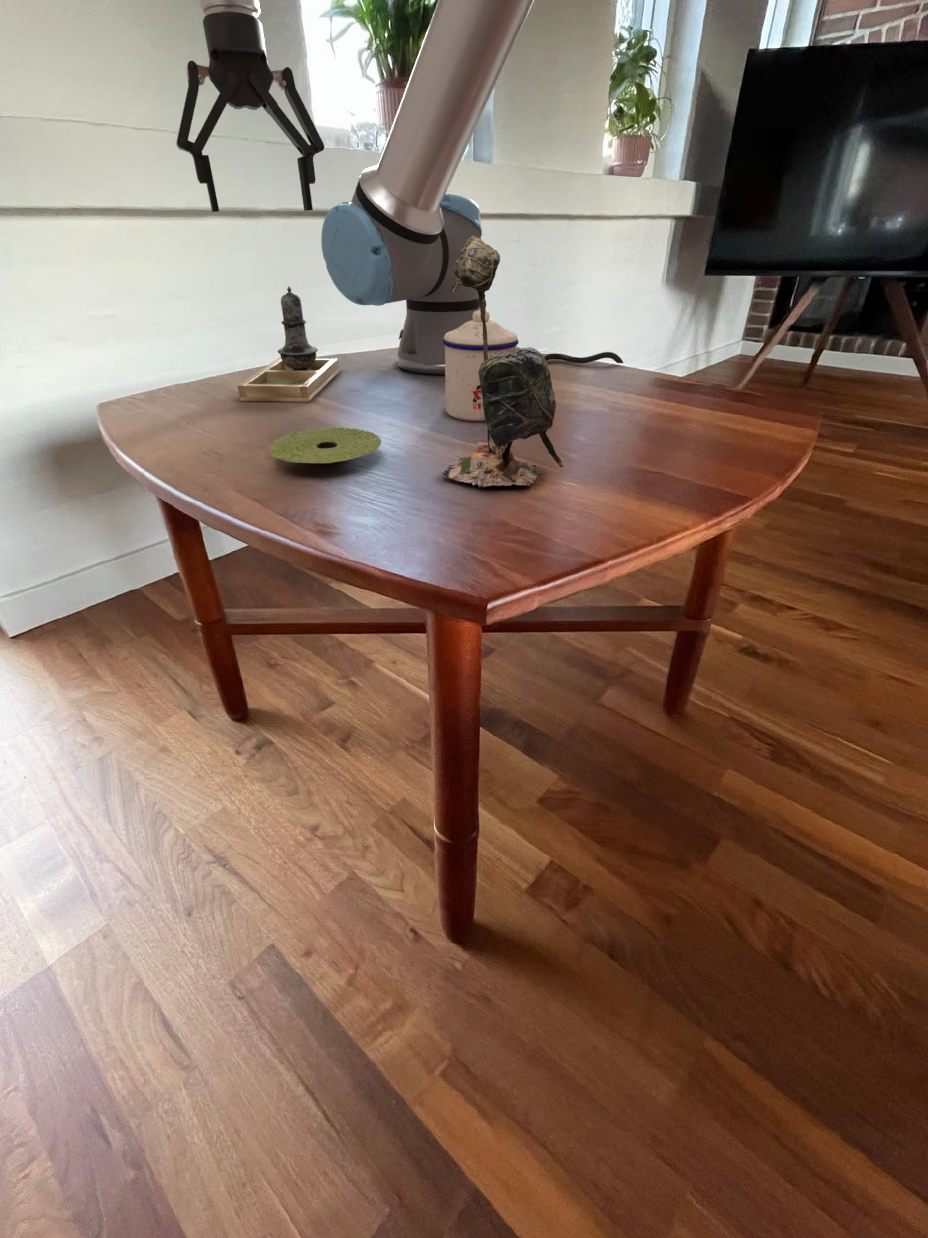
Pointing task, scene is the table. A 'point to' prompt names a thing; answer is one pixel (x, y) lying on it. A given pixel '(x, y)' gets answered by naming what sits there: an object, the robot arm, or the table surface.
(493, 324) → the teacup with lid
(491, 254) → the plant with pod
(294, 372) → the wooden divided tray
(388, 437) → the table surface
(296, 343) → the salt shaker
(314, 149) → the robot arm
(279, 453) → the mat
